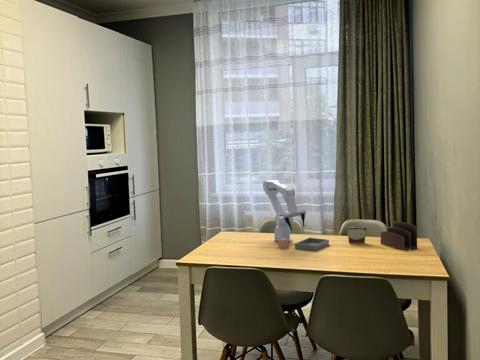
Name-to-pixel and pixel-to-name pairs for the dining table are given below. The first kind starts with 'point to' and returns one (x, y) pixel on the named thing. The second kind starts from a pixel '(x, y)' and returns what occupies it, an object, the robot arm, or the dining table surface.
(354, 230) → the food container
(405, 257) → the dining table surface
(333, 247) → the dining table surface
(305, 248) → the baking dish
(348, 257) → the dining table surface
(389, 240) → the letter holder
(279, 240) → the terracotta block
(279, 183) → the robot arm
